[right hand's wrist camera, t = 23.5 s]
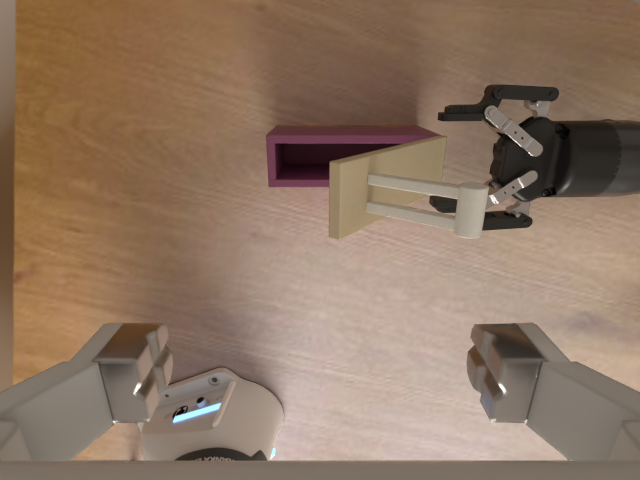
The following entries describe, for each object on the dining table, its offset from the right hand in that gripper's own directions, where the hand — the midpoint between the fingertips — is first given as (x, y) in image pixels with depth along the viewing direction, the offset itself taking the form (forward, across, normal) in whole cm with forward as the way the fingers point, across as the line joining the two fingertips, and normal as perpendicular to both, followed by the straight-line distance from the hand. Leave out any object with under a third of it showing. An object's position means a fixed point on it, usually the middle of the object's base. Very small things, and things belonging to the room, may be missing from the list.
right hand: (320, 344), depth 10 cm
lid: (+21, -6, 0) cm, 22 cm away
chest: (+37, -3, 0) cm, 37 cm away
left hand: (+31, -12, +1) cm, 33 cm away
